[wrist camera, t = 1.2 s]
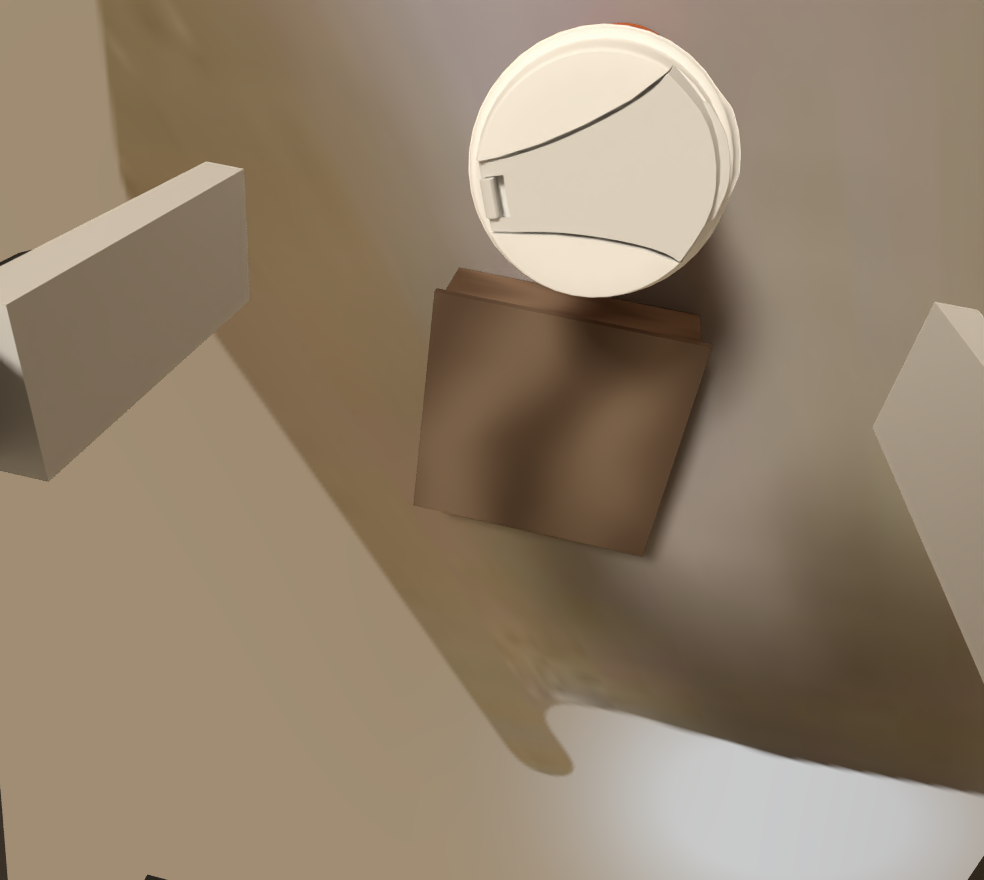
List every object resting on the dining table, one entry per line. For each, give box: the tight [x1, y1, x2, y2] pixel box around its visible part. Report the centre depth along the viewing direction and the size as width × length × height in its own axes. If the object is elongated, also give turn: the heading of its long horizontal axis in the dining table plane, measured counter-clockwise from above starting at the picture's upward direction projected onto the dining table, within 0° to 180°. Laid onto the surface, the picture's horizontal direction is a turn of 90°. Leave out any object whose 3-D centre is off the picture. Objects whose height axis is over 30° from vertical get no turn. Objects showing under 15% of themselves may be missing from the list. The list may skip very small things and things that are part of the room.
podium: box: [413, 268, 712, 557], centre depth 40 cm, size 13×13×4 cm
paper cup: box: [469, 23, 741, 298], centre depth 27 cm, size 8×8×14 cm
